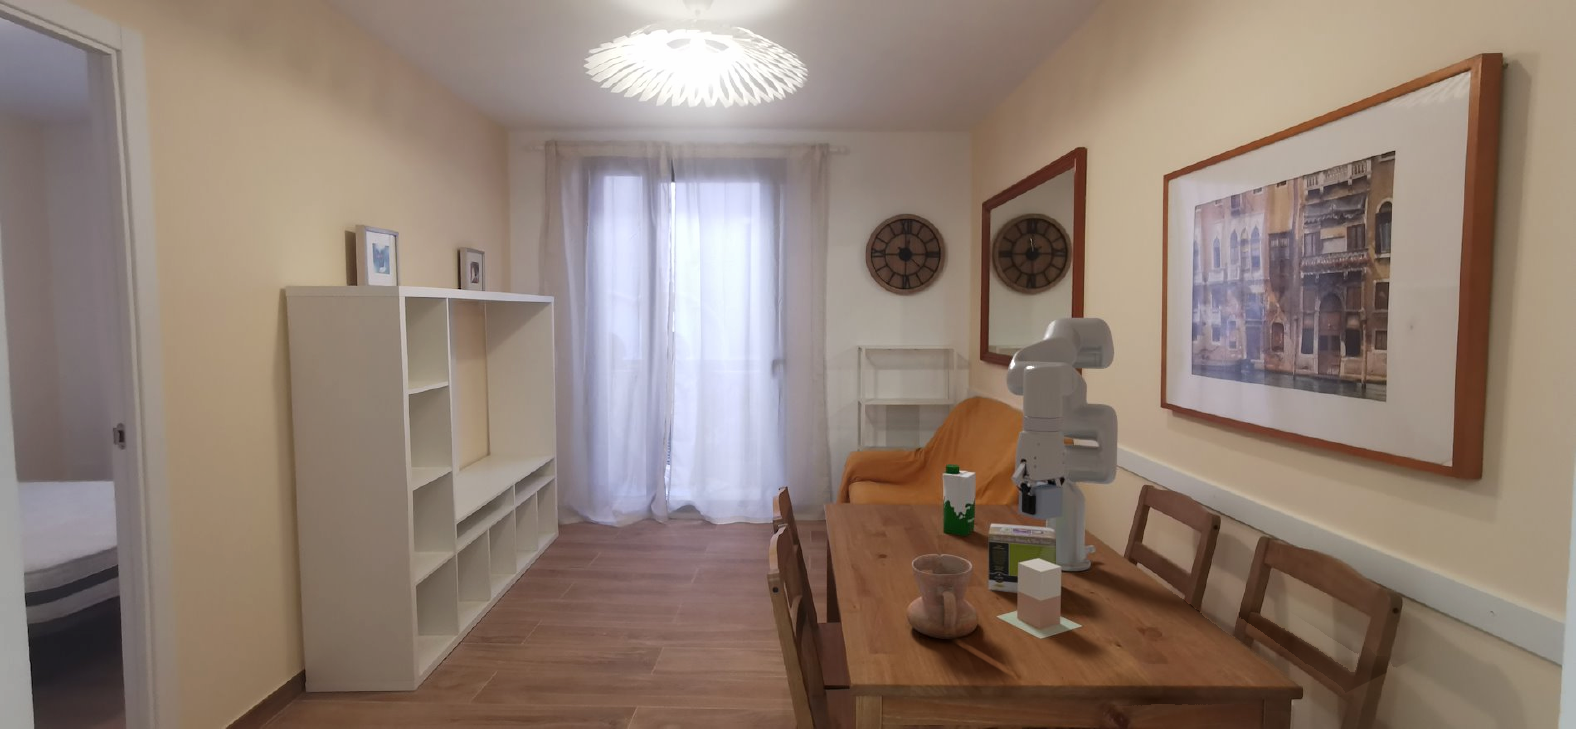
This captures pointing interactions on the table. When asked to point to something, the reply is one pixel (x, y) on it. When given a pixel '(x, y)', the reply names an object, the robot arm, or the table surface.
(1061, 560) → the robot arm
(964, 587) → the ceramic jug
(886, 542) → the table surface
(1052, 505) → the slate brick
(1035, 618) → the terracotta brick
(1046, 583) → the cream brick
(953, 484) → the milk carton
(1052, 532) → the tea box
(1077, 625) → the plate
